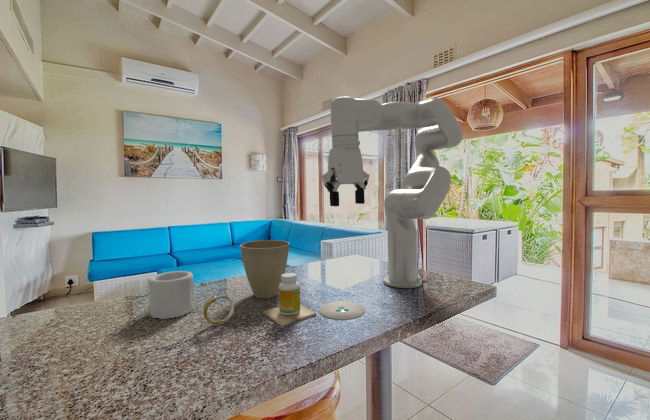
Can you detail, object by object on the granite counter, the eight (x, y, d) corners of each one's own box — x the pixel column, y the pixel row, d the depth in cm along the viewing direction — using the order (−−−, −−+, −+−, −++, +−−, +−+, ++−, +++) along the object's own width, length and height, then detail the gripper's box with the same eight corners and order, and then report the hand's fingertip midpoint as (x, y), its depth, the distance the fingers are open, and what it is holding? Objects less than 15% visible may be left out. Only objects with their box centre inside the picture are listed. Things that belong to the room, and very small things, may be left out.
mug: (201, 310, 83) (199, 274, 82) (158, 324, 75) (156, 284, 74) (181, 299, 92) (179, 267, 91) (141, 310, 84) (138, 274, 84)
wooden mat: (295, 304, 86) (294, 302, 86) (316, 314, 78) (316, 312, 78) (262, 313, 80) (262, 311, 80) (282, 326, 72) (282, 323, 72)
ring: (204, 330, 71) (202, 296, 70) (203, 324, 74) (202, 292, 73) (235, 324, 74) (234, 291, 73) (233, 319, 77) (232, 288, 76)
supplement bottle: (297, 316, 76) (296, 277, 75) (276, 315, 77) (275, 277, 76) (302, 308, 81) (301, 272, 81) (283, 307, 82) (282, 271, 82)
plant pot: (242, 305, 86) (240, 249, 85) (241, 289, 100) (239, 241, 99) (295, 299, 90) (293, 245, 89) (286, 284, 104) (285, 238, 103)
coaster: (343, 298, 89) (343, 298, 89) (374, 310, 80) (374, 309, 80) (310, 309, 82) (310, 308, 82) (339, 323, 72) (339, 322, 72)
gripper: (358, 147, 94) (360, 202, 95) (312, 144, 83) (315, 206, 84) (376, 143, 88) (378, 203, 89) (329, 140, 77) (332, 207, 78)
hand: (347, 204), depth 87 cm, fingers open, 9 cm apart
